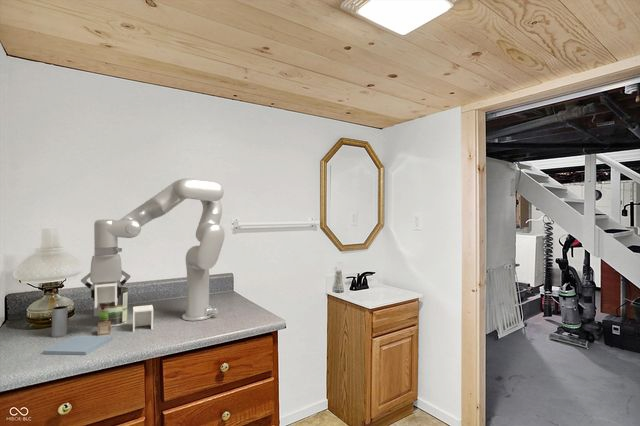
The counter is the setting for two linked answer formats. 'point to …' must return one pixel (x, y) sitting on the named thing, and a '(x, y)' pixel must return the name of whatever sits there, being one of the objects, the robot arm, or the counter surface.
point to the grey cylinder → (59, 321)
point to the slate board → (78, 345)
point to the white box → (105, 292)
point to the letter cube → (104, 328)
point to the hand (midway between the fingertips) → (106, 298)
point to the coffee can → (115, 310)
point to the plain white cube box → (142, 316)
